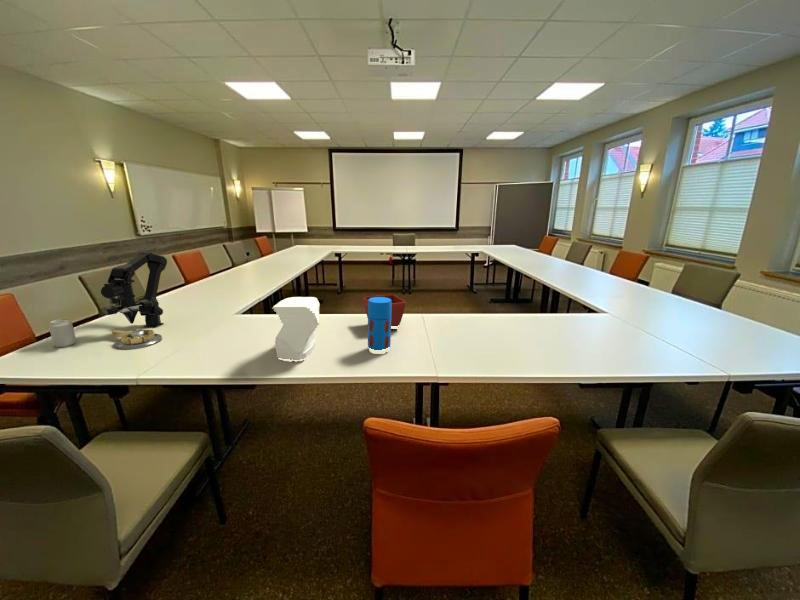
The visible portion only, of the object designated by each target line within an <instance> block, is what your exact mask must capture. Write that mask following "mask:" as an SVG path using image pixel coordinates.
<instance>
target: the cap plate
mask: <svg viewBox="0 0 800 600" xmlns="http://www.w3.org/2000/svg"><path fill="white" fill-rule="evenodd" d="M144 330H145V329H142V330H137V329H134V330H131V331H130V332H131V337H132V338H133V336H134V335H138V336H139V337H141V336H144V335H145V334H144ZM154 335H155V336H154V339H152V340H149V341H147V342H143V343H137V344H124V343H122V341H121V338H120V339H118V340H117V341H116V342H114V348H115V349H117V350H122V351H123V350H124V351H128V350H137V349H143V348H148V347H151V346H154V345H156V344H158V343H160V342H161V341H162V340H163V337H162V335H161V334H159V333H154Z"/></svg>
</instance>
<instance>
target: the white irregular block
mask: <svg viewBox="0 0 800 600" xmlns="http://www.w3.org/2000/svg"><path fill="white" fill-rule="evenodd" d="M320 306H321V305H320V302H319V300H318V298H317V297H315V296H291V297H287V298H284V299H282V300H280V301H278V302H277V303H276V304H275V305H273V307H271V309H272V310H273V311H274V312H276V315H278V318H279V320H280V323H281V324H282V327H281V328H280V330H279V331H278V333H277V334H276V337H275V339H274V343H275V344H274V346H275V347H274V348H275V351H276V357H278V358H282V359H290V360H292V359H293V360H300V359H304V358H306V357H307V356H308V355H310V354H311V353H312V354H313V352H312V350H313V348H314V349H315V346H316V342H317V341H316V340H317V339H316V329H317V328H318V326H320ZM313 351H314V350H313Z"/></svg>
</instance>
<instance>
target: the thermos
mask: <svg viewBox="0 0 800 600" xmlns="http://www.w3.org/2000/svg"><path fill="white" fill-rule="evenodd" d="M391 306H392V303H391V299H389V298H385V297H373V298H370V299H369V300H368V318H367V348H368V347H369V348H371V349H374V350H382V349H386V348H388V347H390V348H391V344H392V343H391V341H392V339H391V338H392V336H391V335H392V334H391V333H392V330H391Z"/></svg>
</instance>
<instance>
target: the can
mask: <svg viewBox="0 0 800 600" xmlns="http://www.w3.org/2000/svg"><path fill="white" fill-rule="evenodd" d="M48 328H49V332H50V333H49V334H50V336H51V339H52V341H51V342H52V344H53V346H54V347H56V348H67V347H70V346H73V345H75V344H76V342H77V337H76V333H75V329H74V326H73V322H72V321H71V320H70V319H69V318H58V319H54V320H51V321H50V322H49V325H48Z"/></svg>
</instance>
